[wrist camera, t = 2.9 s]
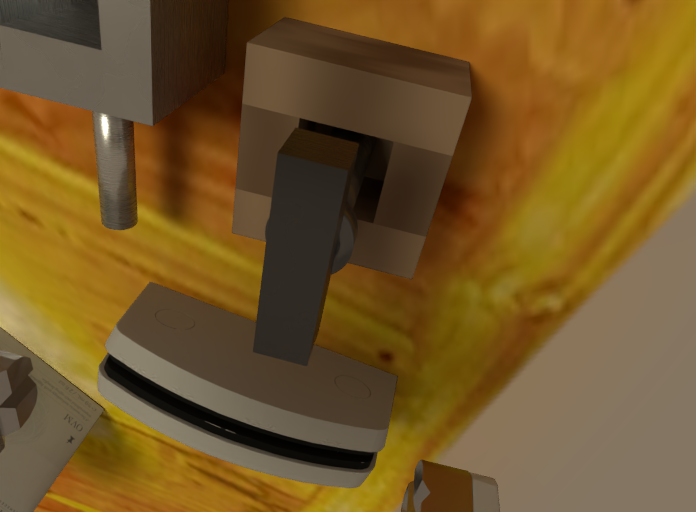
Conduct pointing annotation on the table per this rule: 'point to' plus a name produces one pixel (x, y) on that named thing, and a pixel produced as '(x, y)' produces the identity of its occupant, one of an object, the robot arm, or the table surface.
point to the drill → (113, 71)
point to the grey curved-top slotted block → (245, 392)
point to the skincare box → (42, 434)
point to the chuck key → (308, 236)
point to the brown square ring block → (353, 129)
